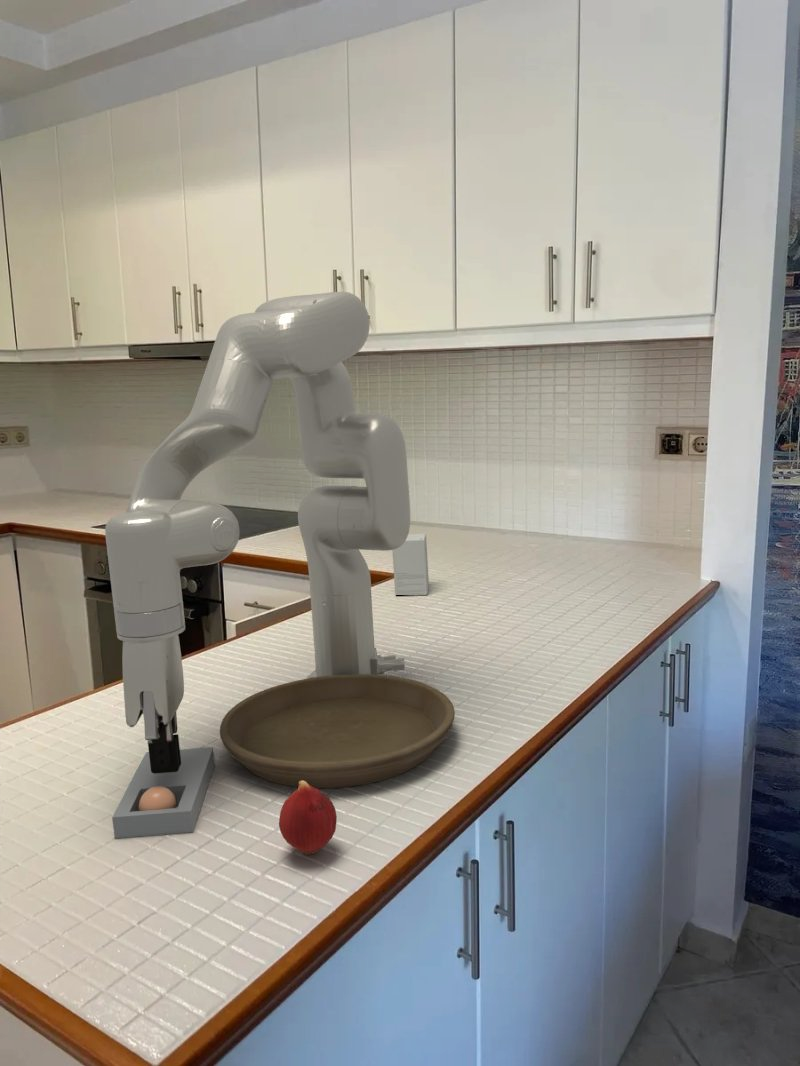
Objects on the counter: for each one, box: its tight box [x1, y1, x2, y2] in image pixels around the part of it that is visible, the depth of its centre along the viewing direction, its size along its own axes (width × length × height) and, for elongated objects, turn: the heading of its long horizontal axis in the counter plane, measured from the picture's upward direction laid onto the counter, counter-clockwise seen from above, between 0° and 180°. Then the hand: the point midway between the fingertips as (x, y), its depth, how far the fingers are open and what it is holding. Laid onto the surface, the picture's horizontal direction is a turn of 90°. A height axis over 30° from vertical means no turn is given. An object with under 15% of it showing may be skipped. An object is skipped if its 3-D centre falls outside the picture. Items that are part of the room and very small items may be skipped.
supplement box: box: [391, 533, 430, 596], centre depth 186 cm, size 7×7×13 cm
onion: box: [278, 781, 338, 856], centre depth 85 cm, size 6×6×8 cm
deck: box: [111, 746, 216, 839], centre depth 98 cm, size 8×16×2 cm, turn 4°
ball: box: [139, 786, 177, 811], centre depth 93 cm, size 4×4×4 cm
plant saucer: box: [219, 674, 456, 789], centre depth 111 cm, size 31×31×5 cm
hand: (166, 769), depth 98 cm, fingers closed
